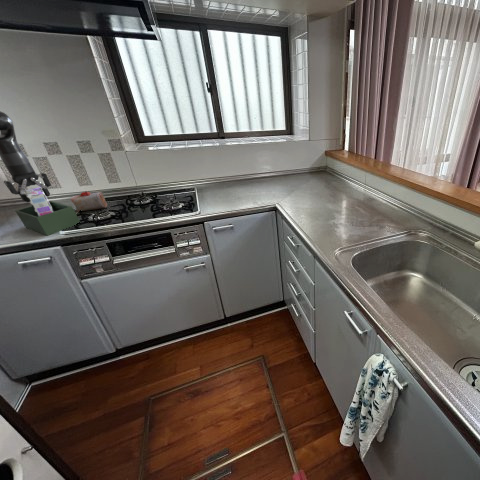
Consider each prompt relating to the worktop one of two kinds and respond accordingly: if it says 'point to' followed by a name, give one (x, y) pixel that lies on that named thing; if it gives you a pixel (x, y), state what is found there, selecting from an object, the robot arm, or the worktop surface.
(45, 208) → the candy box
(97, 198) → the food item
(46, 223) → the bin
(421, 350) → the worktop surface
